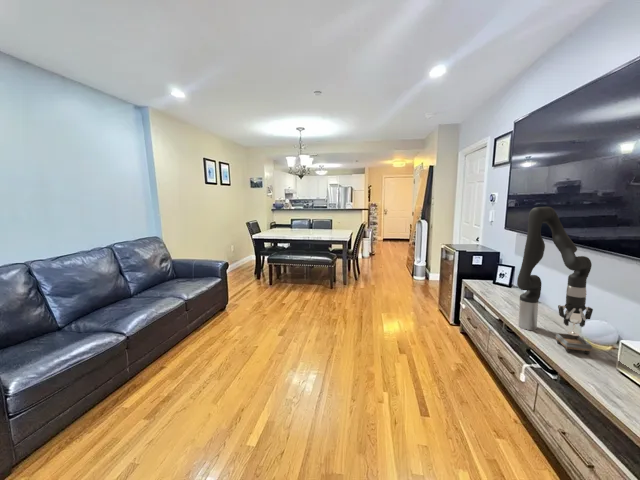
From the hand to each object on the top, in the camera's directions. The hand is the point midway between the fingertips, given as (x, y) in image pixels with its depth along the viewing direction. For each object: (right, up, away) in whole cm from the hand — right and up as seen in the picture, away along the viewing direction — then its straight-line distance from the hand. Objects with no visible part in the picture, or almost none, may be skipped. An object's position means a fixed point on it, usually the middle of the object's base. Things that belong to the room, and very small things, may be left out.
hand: (573, 325), depth 145 cm
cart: (+1, -13, +2) cm, 13 cm away
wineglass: (0, -5, +1) cm, 5 cm away
